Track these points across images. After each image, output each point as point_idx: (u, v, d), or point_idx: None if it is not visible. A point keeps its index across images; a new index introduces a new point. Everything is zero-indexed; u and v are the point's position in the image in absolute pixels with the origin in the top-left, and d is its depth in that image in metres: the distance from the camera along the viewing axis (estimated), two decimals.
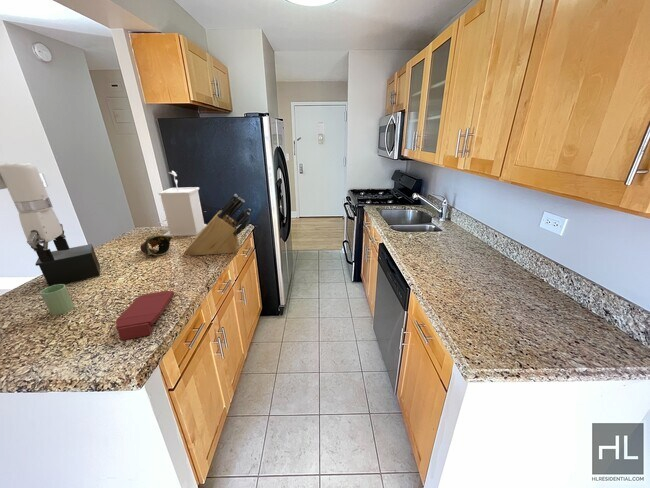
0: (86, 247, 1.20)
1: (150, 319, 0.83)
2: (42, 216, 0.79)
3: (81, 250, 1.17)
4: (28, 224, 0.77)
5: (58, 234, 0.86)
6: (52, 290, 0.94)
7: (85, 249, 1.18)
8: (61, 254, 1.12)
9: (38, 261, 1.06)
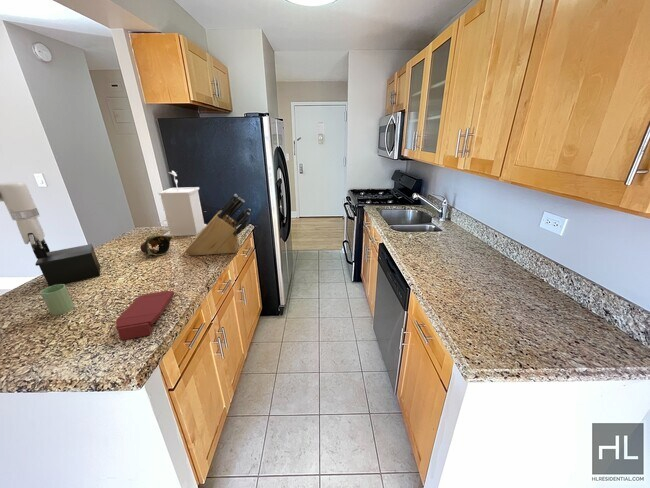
0: (86, 247, 1.20)
1: (150, 319, 0.83)
2: (35, 221, 1.03)
3: (81, 250, 1.17)
4: (25, 228, 1.01)
5: (43, 236, 1.09)
6: (52, 290, 0.94)
7: (85, 249, 1.18)
8: (61, 254, 1.12)
9: (38, 261, 1.06)
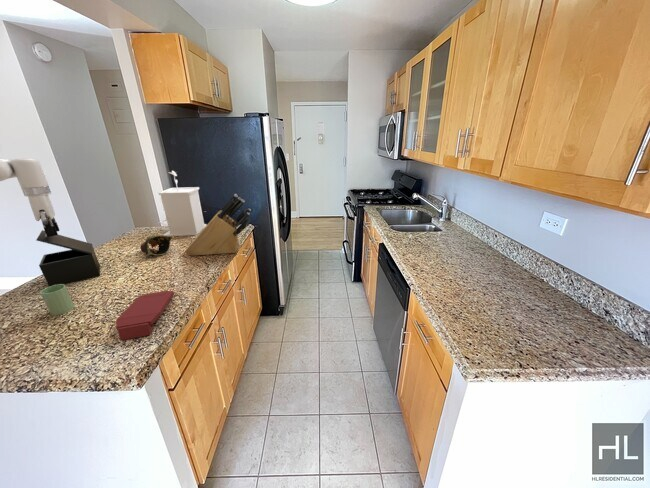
0: (87, 245, 1.20)
1: (150, 319, 0.83)
2: (46, 199, 1.04)
3: (82, 245, 1.17)
4: (37, 205, 1.01)
5: (54, 214, 1.09)
6: (52, 290, 0.94)
7: (86, 246, 1.18)
8: (63, 241, 1.11)
9: (40, 237, 1.05)
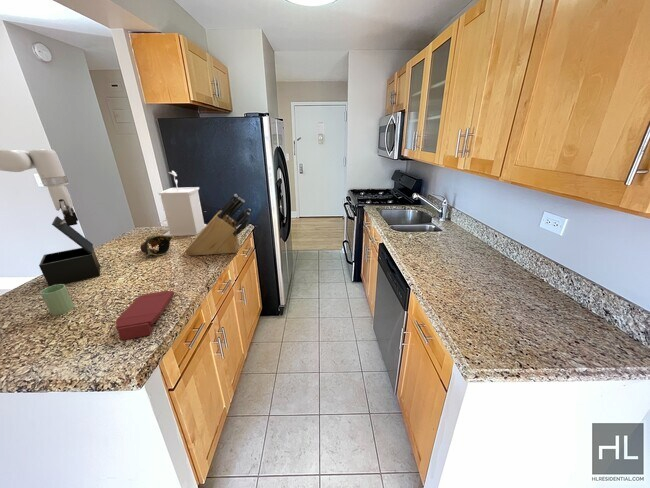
0: (89, 244, 1.21)
1: (150, 319, 0.83)
2: (65, 188, 1.06)
3: (85, 243, 1.17)
4: (57, 194, 1.04)
5: (72, 204, 1.12)
6: (52, 290, 0.94)
7: (88, 245, 1.18)
8: (72, 233, 1.13)
9: (56, 222, 1.06)
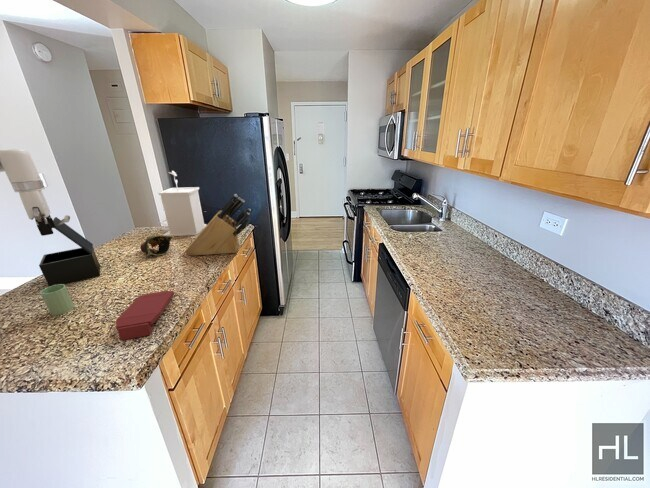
0: (89, 244, 1.21)
1: (150, 319, 0.83)
2: (40, 194, 0.93)
3: (85, 243, 1.17)
4: (30, 201, 0.90)
5: (49, 212, 0.98)
6: (52, 290, 0.94)
7: (88, 245, 1.18)
8: (71, 233, 1.12)
9: (54, 223, 1.06)
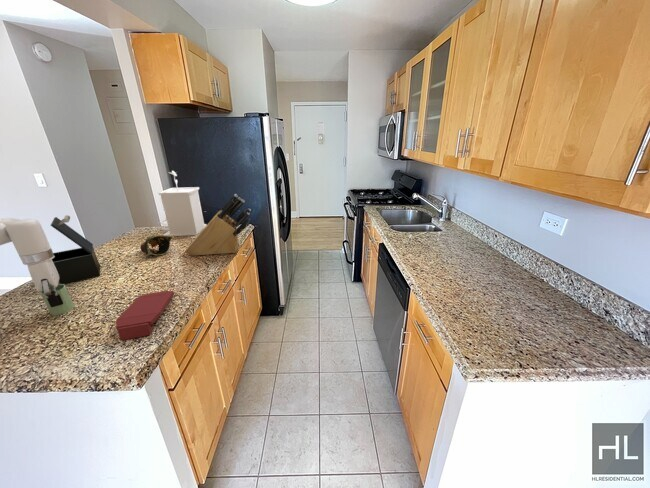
0: (89, 244, 1.21)
1: (150, 319, 0.83)
2: (49, 265, 0.87)
3: (85, 243, 1.17)
4: (38, 274, 0.85)
5: (58, 279, 0.93)
6: (52, 290, 0.94)
7: (88, 245, 1.18)
8: (71, 233, 1.12)
9: (54, 223, 1.06)
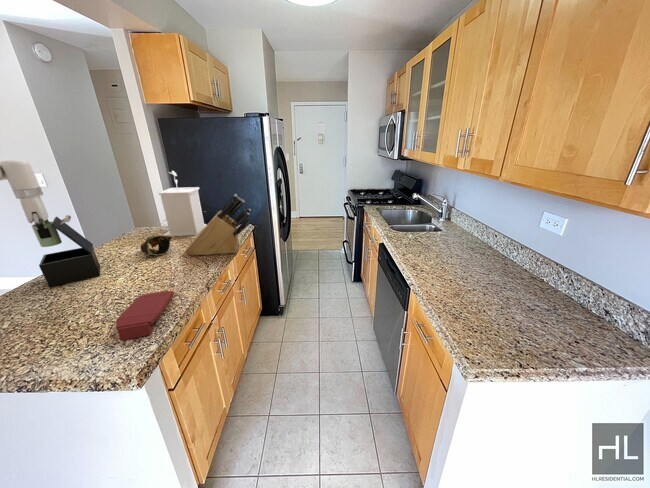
0: (89, 244, 1.21)
1: (150, 319, 0.83)
2: (38, 200, 1.02)
3: (85, 243, 1.17)
4: (29, 207, 1.00)
5: (47, 216, 1.08)
6: None
7: (88, 245, 1.18)
8: (71, 233, 1.12)
9: (55, 223, 1.06)
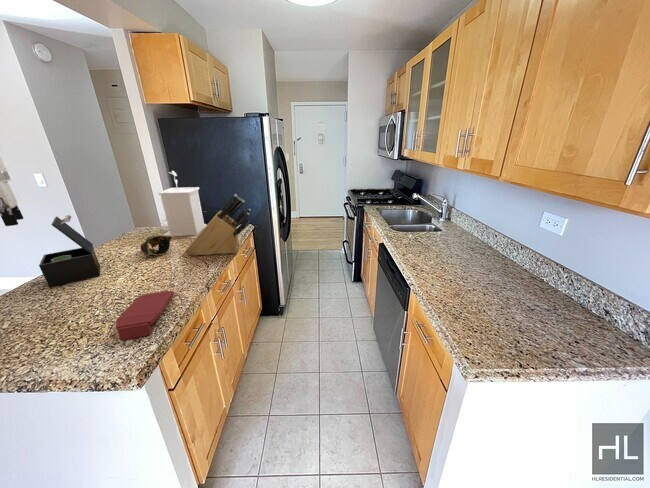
0: (89, 244, 1.21)
1: (150, 319, 0.83)
2: (4, 186, 0.95)
3: (85, 243, 1.17)
4: None
5: (16, 204, 1.00)
6: (60, 260, 1.16)
7: (88, 245, 1.18)
8: (72, 233, 1.12)
9: (55, 223, 1.06)
